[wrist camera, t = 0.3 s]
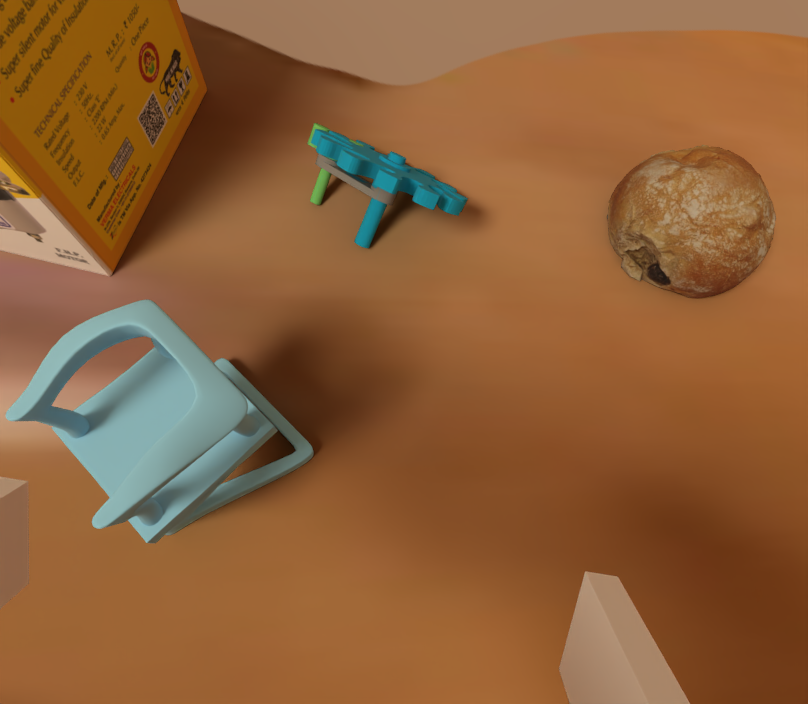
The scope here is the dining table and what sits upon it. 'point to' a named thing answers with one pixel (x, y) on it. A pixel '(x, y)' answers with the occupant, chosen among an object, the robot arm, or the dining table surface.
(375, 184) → the gear
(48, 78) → the packaging box
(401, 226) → the dining table surface
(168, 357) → the chair
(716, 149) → the bread roll
